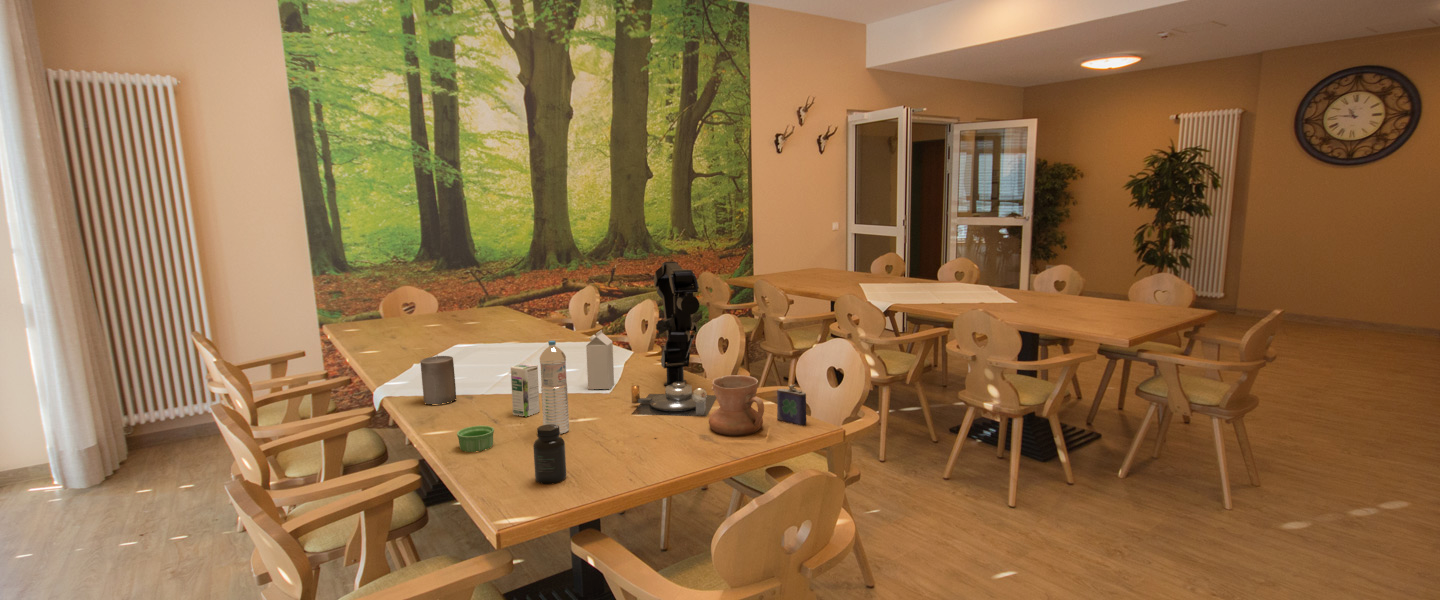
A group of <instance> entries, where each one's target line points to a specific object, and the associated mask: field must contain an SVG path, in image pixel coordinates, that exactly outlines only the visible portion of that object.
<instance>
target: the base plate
mask: <svg viewBox="0 0 1440 600" xmlns="http://www.w3.org/2000/svg"><path fill="white" fill-rule="evenodd" d="M663 394H664V393H649V394H648V395H647V396H646V397H645V398H653V397H656V396H659V395H663ZM705 400H706V414H705V415H704V416H703V415H696V408H695V409H691V410H685V411H662V410H657V409H654V408H652V407H650V404H648V403H639V405H638V406H637V407H636V408H635V409H634V410H633V411H632V413H630V415H636V416H665V417H666V416H672V417H673V416H674V417H708V415H709V413H710V412H711V410H712V407H713V406H714V404H715V402H716V401H717V398H716V396H715V394H707V397H706V399H705Z"/></svg>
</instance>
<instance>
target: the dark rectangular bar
mask: <svg viewBox="0 0 1440 600" xmlns="http://www.w3.org/2000/svg"><path fill="white" fill-rule="evenodd" d="M707 395H708V394H707V391H706V389H705V388H701V387H698V388H695V389H694V390H693V391H692V398H693V400H694V401H695V402H696V415H703V416H704V415H705V414H706V400H705V399H706V397H707Z"/></svg>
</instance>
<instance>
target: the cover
mask: <svg viewBox="0 0 1440 600" xmlns="http://www.w3.org/2000/svg"><path fill="white" fill-rule="evenodd" d="M692 393H693V385H691V384H689V383H688V384H687V383H684V382H674V383H673V384H671V385H668V386H665V394H666V398H667V399H670V400H686V399H689V398H691V397H692Z"/></svg>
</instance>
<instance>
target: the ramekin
mask: <svg viewBox="0 0 1440 600" xmlns="http://www.w3.org/2000/svg"><path fill="white" fill-rule="evenodd" d="M494 433H495V428H494V427H492V426H489V425H473V426H467V427H464V428H461V429H460V430H458V431H457V432H456V436H457V438H458V444H459V450H461V451H462V452H464V451H466V452H465V453H477V452H476V451H479V452H483V451H482V450H484V451H486V450H485V449H487V450H489V449H491V448H492V447H493V446H492V445H494ZM490 447H491V448H490ZM488 448H489V449H488Z"/></svg>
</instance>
